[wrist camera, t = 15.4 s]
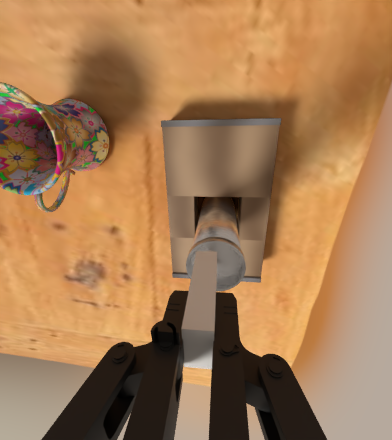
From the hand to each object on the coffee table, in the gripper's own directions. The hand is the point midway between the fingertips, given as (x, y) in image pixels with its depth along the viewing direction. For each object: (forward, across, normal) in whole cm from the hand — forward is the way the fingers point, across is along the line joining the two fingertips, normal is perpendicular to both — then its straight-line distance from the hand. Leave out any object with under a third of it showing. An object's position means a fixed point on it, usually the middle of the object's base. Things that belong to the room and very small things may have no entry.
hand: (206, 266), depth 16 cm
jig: (+15, +1, 0) cm, 15 cm away
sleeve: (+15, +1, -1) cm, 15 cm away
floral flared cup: (+16, -17, +7) cm, 24 cm away
